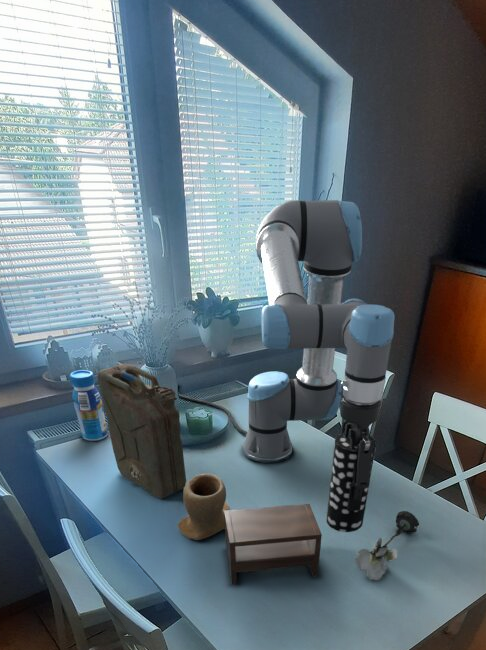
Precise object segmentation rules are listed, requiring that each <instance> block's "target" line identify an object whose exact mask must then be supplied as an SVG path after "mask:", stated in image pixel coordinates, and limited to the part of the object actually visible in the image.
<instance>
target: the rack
mask: <svg viewBox="0 0 486 650" xmlns="http://www.w3.org/2000/svg"><path fill="white" fill-rule="evenodd" d="M224 520H225V529H224V537H225V553H226V558H227V563H228V571H229V575H230V576H229V577H230V582H231V583H230V584H231V585H237V584H238V577H237V573H244V572H254V571H265V570H274V569H275V570H276V569H284V568H286V569H287V568H295V567H307V566H308V567H309V571H310V573H311V576H312V577H318V575H319V565H320V555H321V545H322V538H323V537H322V535H323V534H322V531H321V529H320V525H319V524H318V522H317V519H316V516H315V514H314V511H313V509H312V506H311V504H310V503H301V504H289V505H278V506H277V505H276V506H267V507H252V508H241V509H239V508H238V509H230V510H227V511H224Z"/></svg>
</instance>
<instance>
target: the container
mask: <svg viewBox="0 0 486 650" xmlns="http://www.w3.org/2000/svg"><path fill="white" fill-rule="evenodd" d="M141 377H143V378H145V379H147V380H148V381H151V385H152V386H150V385H149V384H147V383H146V382H145V381H144V380H143V379H142V378H141ZM97 381H98V386H99V391H100V396H101V400H102V405H103V409H104V412H105V416H106V420H107V421H106V422H107V429H108V434H109V437H110V443H111V445H112V451H113V455H114V459H115V462H116V463H115V464H116V466H117V469H118V471H119V473H120V475H121V476H122V477H123V478H124V479H126V480H128V481H129V482H131V483H133V484H134V485H137V486H139V487H141V488H142V489H143V490H145V491H146V492H147V493H149V494H151V496H153V497H155V498H157V499H165V498H167V497H169V496H172V495H173V494H175V493H177V492H179V491H181V490H184V487H185V485H186V483H187V476H186V466H185V458H184V450H183V449H184V448H183V441H182V437H181V435H182V433H181V422H180V421H181V420H180V414H179V410H178V408H177V406H176V405H175V401H177V400H178V398H177V397H176V393H175V389H173V388H172V387H171V388H170V387H166V386H160V384H159V381H158V379H157V377H156V376H155V375H154V374H152V373H151V372H148V371H146V370H144V369H141V368H139V367H138V366H136V365H133V364H131V363H121V364H117V365H114V366H111V367H107V368H105V369H102V370H101V369H100V370H99V371H98V373H97Z"/></svg>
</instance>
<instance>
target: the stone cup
mask: <svg viewBox="0 0 486 650" xmlns="http://www.w3.org/2000/svg"><path fill="white" fill-rule="evenodd" d="M182 493H183V494H182V497H183V506H184V508H185V510H186V512H187V514H188V515H187V516H185V517H184V518H182V519H180V521H178V523H177V527H178V530H179V531H180V533H181V534H182V535H183V536H185V537H186V538H188V539H191V540H194V541H202V540H205V539H207V538H210V537H212V536H214V535H216V534H217V533H219V532H221V531H223V530H225V520H224V511H227V510H231V508H230V505H229V504H228V503H227V502H226V500H227V488H226V485H225V483H224V481H223V479H222V478H221V477H220V476H218V475H216V474H212V473H199V474H197V475H194V476H193V477H191V479H189V480H188V481H186V483H185V487H184V488H183V492H182Z"/></svg>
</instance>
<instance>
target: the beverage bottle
mask: <svg viewBox="0 0 486 650" xmlns="http://www.w3.org/2000/svg"><path fill="white" fill-rule="evenodd" d="M69 380H70V383H71V386H72V387H73V391H72V395H71V397H72V401H74V402H73V407H74V410H75V413H76V417H77V420H78V421H77V422H78V423H79V424H78V425H79V428H80V433H81V437H82V438H83V439H84V440H86V441H90V442H91V441H92V442H95V441H100V440H104V439H105V438H107V436H108V434H109V429H108V425H107V421H106V418H105V413H104V412H105V411H104V406H103V400H102V398H101V392H99V391H100V390H98V388H97V387H96V386H95V382H96V381H95V376H94V374H93V371H91V370H87V369H78V370H74V371H72V372H71V373H70V374H69Z"/></svg>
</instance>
